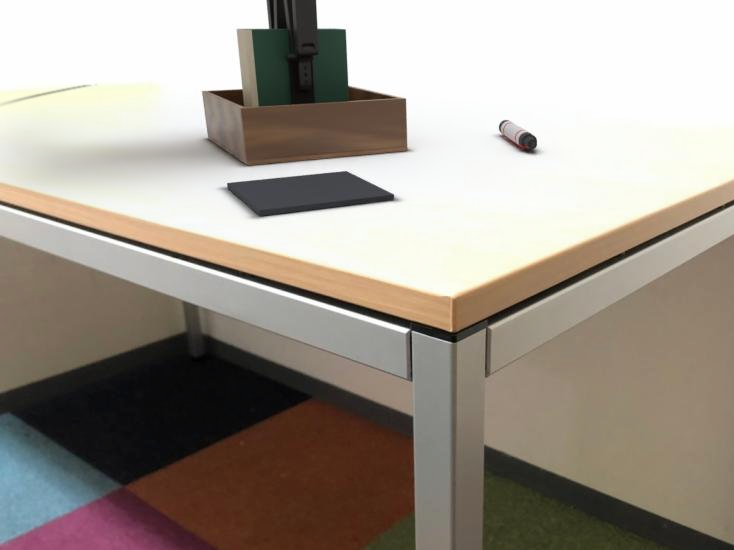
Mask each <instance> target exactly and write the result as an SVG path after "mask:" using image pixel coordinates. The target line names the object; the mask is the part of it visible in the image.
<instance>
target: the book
mask: <svg viewBox="0 0 734 550" xmlns="http://www.w3.org/2000/svg"><path fill="white" fill-rule="evenodd" d="M236 38H237V48H238V59H239V69H240V79H241V89H243V99H244V107H259V106H276V105H292V104H291V91H290V78H289V64H288V61H286V60H285V56H286V55H287V54H290V45H289V38H288V30H287V29H269V28H236ZM347 44H348V43H347V29H345V28H318V48H319V53H318V55H314V59H313V60H311V61H312V63H313V79H314V94H315V103H327V102H345V101H349V88H348V86H349V68H348V48H347Z"/></svg>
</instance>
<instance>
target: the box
mask: <svg viewBox="0 0 734 550" xmlns="http://www.w3.org/2000/svg"><path fill="white" fill-rule="evenodd" d="M348 88H349V101H345V102H327V103H310V104H293V105H276V106H259V107H244V99H243V89H242V88H237V89H217V90H215V89H213V90H201V94H202V95H201V96H202V102H203V110H204V118H205V126H206V133H207V134H206V135H207V139H208V140H209V141H211V142H212V143H214V145H217V146H218V147H220V148H221V149H223V150H224V151H226V152H227V153H229V155H231V156H233V157H234V158H236V159H237V160H239V161H240V162H241V163H243V164H245V165H246V166H256V165H267V164H279V163H288V162H299V161H310V160H311V161H312V160H322V159H323V160H324V159H331V158H343V157H355V156H364V155H365V156H366V155H376V154H387V153H398V152H408V119H407V117H408V115H407V98H406V97H401V96H397V95H393V94H388V93H384V92H380V91H375V90H370V89H366V88H362V87H361V88H360V87H357V86H352V85H348Z"/></svg>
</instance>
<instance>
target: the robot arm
mask: <svg viewBox="0 0 734 550" xmlns="http://www.w3.org/2000/svg"><path fill="white" fill-rule="evenodd" d="M266 10H267V21H268V29H287V30H288V38H289V45H290V54H287V55H286V56H285V60H286V61H288V64H289V78H290V91H291V104H292V105H293V104H310V103H315V94H314V79H313V63H312V61H311V60H313V59H314V55H318V53H319V48H318V29H319V28H318V11H317V10H318V9H317V0H266Z"/></svg>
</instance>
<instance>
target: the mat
mask: <svg viewBox="0 0 734 550" xmlns="http://www.w3.org/2000/svg"><path fill="white" fill-rule="evenodd" d="M226 188H227V189H228V190H229V191H230V192H231V193H232V194H234V195H235V196H236V197H238V199H240V200H241V202H243V203H244V204H246V206H248V207H249V208H250V209H251V210H252V211H253V212H255V213H256V214H257V215H258V216H260V217H263V216H271V215H279V214H280V215H281V214H287V213H296V212H304V211H313V210H321V209H328V208H329V209H331V208H338V207H344V206H345V207H346V206H347V207H348V206H354V205H362V204H369V203H377V202H386V201H394V200H395V194H394V193H392V192H390V191H388V190H386V189H384V188H383V187H380V186H378V185H376V184H374V183H372V182H370V181H368V180H366V179H363V178H362V177H359V176H357V175H356V174H353V173H352V172H350V171H347V170H343V171H333V172H332V171H331V172H323V173H321V172H320V173H313V174H302V175H293V176H281V177H273V178H272V177H271V178H261V179H254V180H253V179H252V180H242V181H233V182H227V183H226Z"/></svg>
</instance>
